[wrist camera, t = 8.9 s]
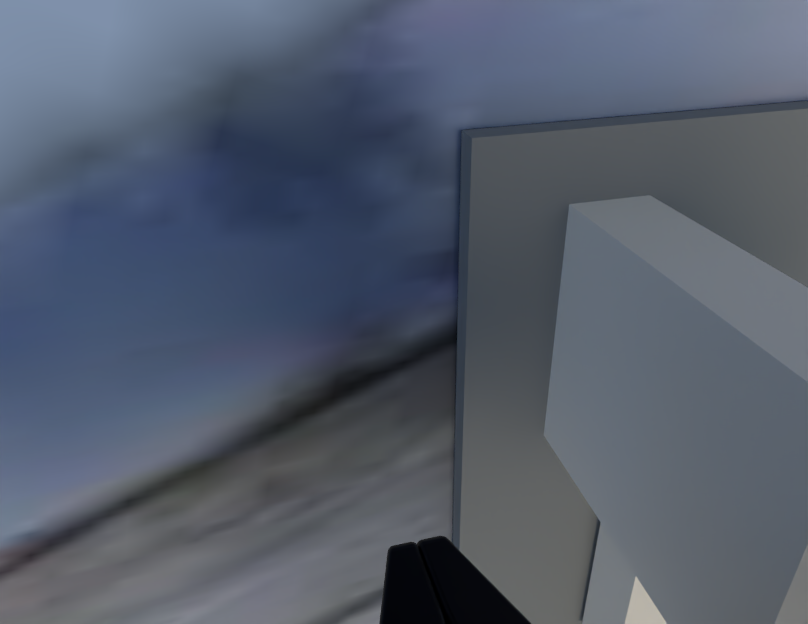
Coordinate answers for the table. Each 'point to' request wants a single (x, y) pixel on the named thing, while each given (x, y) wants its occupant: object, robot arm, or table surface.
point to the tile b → (685, 410)
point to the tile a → (616, 590)
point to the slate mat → (539, 294)
